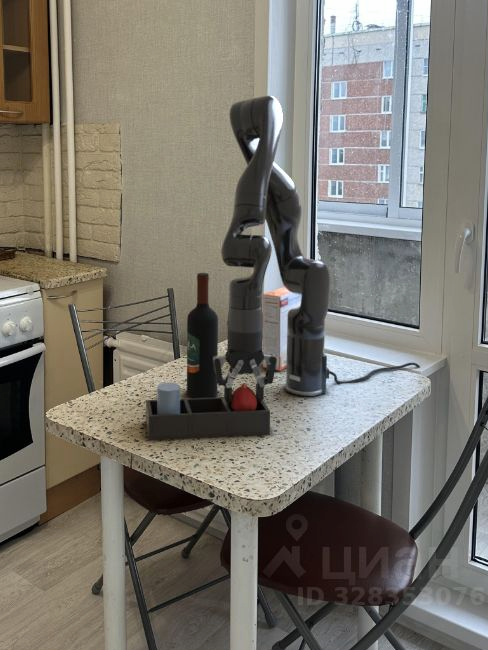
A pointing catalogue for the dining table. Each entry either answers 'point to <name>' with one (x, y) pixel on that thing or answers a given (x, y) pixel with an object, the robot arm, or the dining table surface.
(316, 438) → the dining table surface
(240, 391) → the onion
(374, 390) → the dining table surface
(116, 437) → the dining table surface
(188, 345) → the wine bottle
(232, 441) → the dining table surface
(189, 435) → the holder
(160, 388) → the light blue cylinder
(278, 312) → the cracker box
